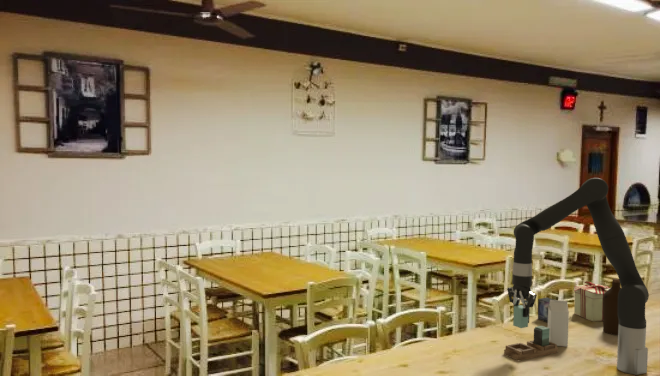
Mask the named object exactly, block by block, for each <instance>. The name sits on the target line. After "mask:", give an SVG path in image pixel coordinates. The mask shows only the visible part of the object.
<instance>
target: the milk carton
mask: <svg viewBox="0 0 660 376" xmlns="http://www.w3.org/2000/svg"><path fill="white" fill-rule="evenodd" d="M569 313H570V311H569V306H568V300H557V299H553V300H550V303H549V306H548V322H547V328H550V330H549V342H552V343H554V344H557V347H566V348H567V347H569V345H568V344H569V320H570V319H569V317H570V314H569Z"/></svg>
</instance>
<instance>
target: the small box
mask: <svg viewBox="0 0 660 376" xmlns="http://www.w3.org/2000/svg"><path fill="white" fill-rule="evenodd" d="M537 299H538V301H537V304H538V305H537V320H540V321H542V320H543V322H545V321H546V323H548V306H549V303H550V300H554V298H549V297H542V298H537Z"/></svg>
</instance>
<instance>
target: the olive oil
mask: <svg viewBox="0 0 660 376" xmlns="http://www.w3.org/2000/svg"><path fill="white" fill-rule="evenodd" d="M609 288H610V289H609V290H608V291H606V292H605V294H604V296H603V321H602V331H603V332H604V333H606V334H609V335H613V336H618V326H619V319H618V293H619V291H620V289H621V284H620V281H619V278H618V277H617V278H612V281H611V287H609Z"/></svg>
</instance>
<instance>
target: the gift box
mask: <svg viewBox="0 0 660 376" xmlns="http://www.w3.org/2000/svg"><path fill="white" fill-rule="evenodd" d="M610 288H611V287H609V286H607V285H601V284H595V283H594V282H593V281H592V282H591V281H584V284H583V285H582V284H581V285H574V286H573V293H574V306H573V307H574V311H573V312H574V314H575V315H577V316H579V317H581V318H583V319H586V320H588V321H591V322H603V296H604V294H605V292H606V291H608V290H609V289H610Z"/></svg>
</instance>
